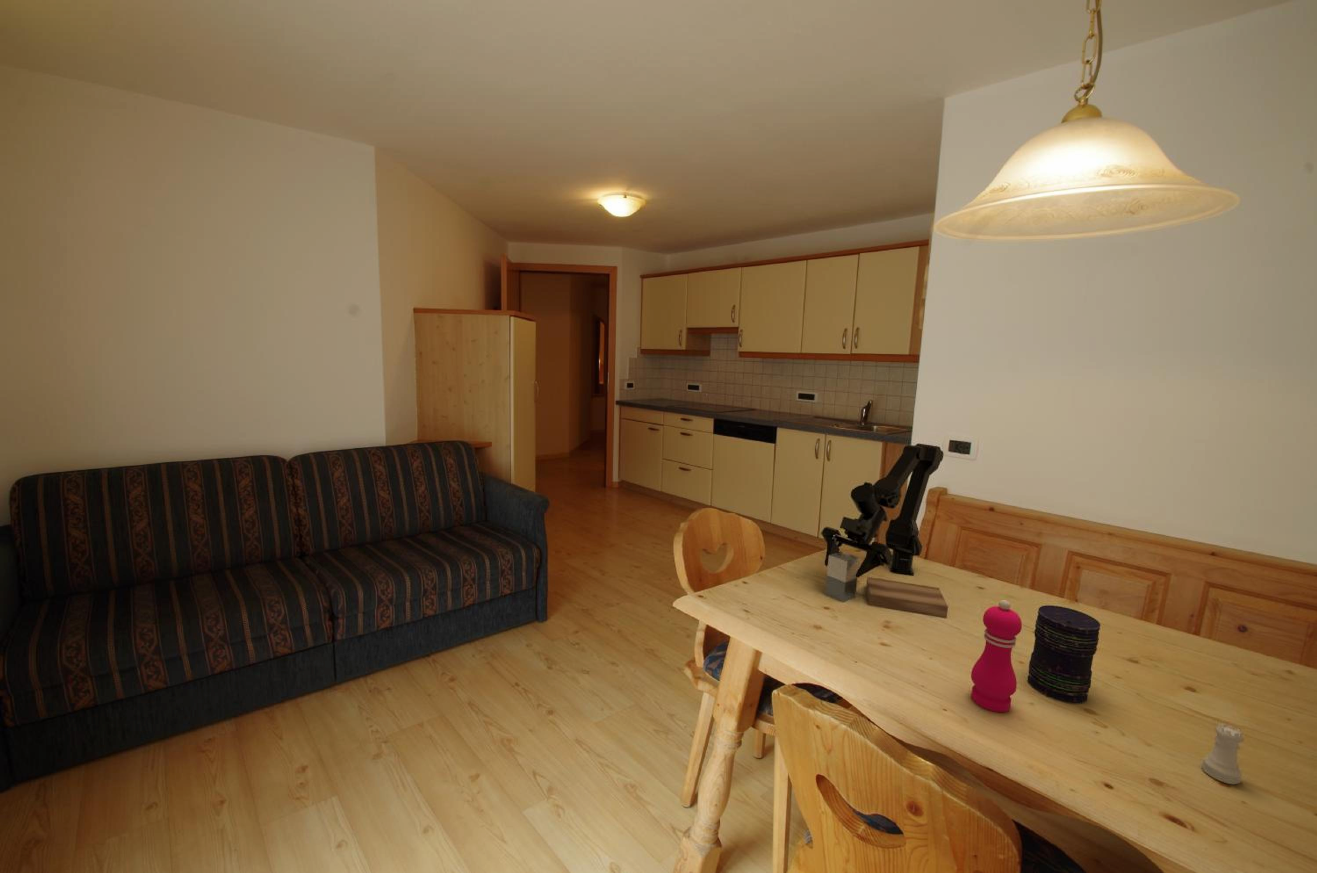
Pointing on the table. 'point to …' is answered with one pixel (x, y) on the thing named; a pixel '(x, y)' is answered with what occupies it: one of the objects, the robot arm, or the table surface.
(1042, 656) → the dark ridged cylinder
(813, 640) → the table surface
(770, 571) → the table surface
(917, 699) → the table surface
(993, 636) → the pepper mill
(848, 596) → the block
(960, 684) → the table surface
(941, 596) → the stand
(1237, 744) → the rook chess piece
